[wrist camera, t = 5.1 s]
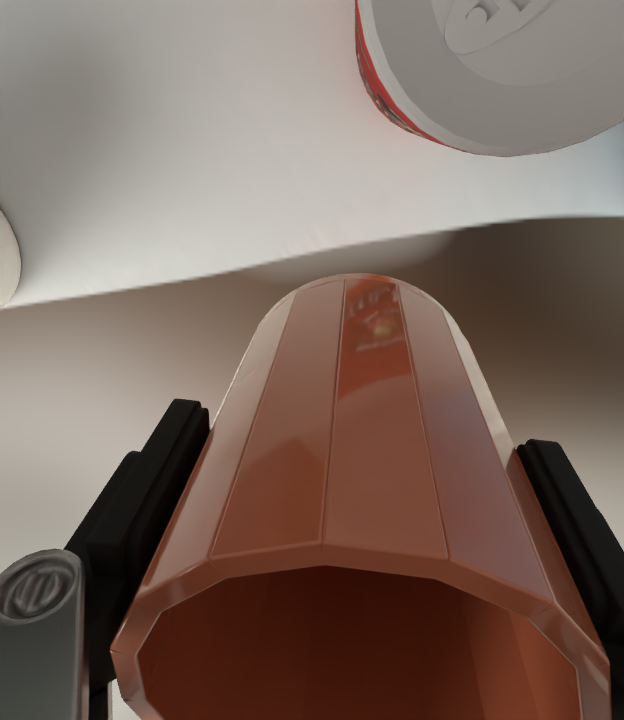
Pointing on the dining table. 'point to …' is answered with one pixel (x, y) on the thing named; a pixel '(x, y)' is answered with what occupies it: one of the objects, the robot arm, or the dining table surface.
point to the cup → (8, 261)
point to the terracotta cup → (359, 539)
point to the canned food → (494, 70)
